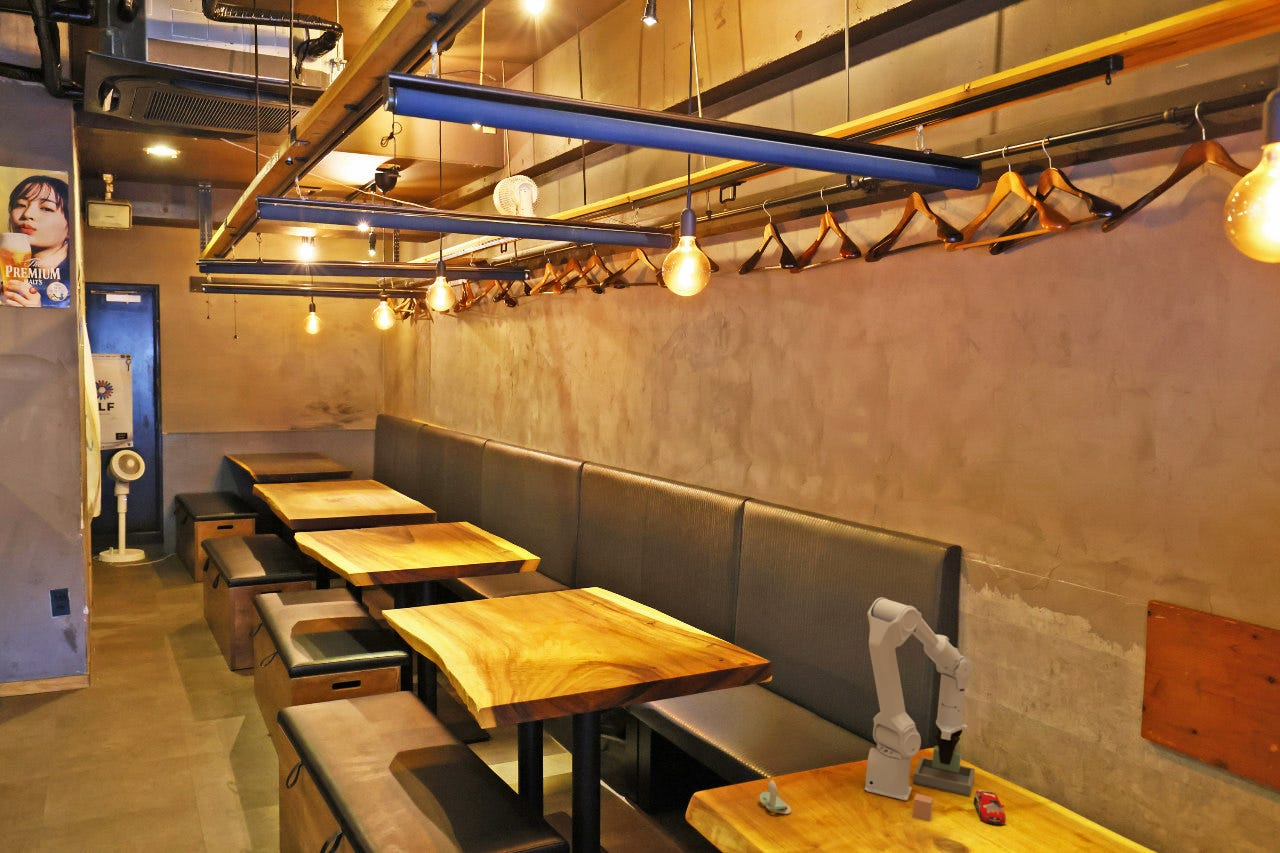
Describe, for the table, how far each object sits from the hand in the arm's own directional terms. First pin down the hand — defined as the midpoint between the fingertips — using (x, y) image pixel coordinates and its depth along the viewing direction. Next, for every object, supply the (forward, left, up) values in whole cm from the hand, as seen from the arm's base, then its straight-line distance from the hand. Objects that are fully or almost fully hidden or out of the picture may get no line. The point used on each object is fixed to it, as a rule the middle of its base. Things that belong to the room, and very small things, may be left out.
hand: (945, 760), depth 226 cm
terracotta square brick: (-2, -24, -5) cm, 25 cm away
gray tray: (0, 0, -5) cm, 5 cm away
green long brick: (0, 0, -2) cm, 2 cm away
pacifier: (-30, -39, -5) cm, 50 cm away
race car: (+11, -13, -6) cm, 18 cm away
